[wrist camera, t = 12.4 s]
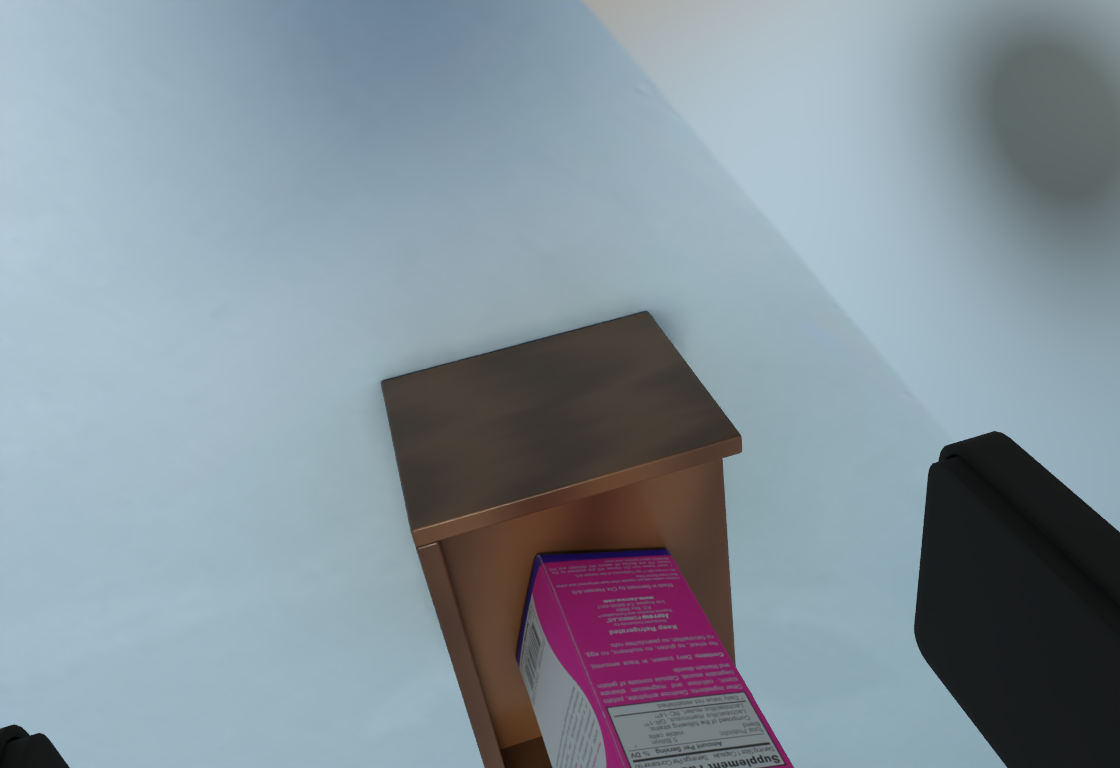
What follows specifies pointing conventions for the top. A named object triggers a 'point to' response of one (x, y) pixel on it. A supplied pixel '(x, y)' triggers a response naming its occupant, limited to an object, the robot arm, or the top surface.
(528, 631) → the supplement box
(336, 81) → the top surface
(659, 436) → the wooden crate
